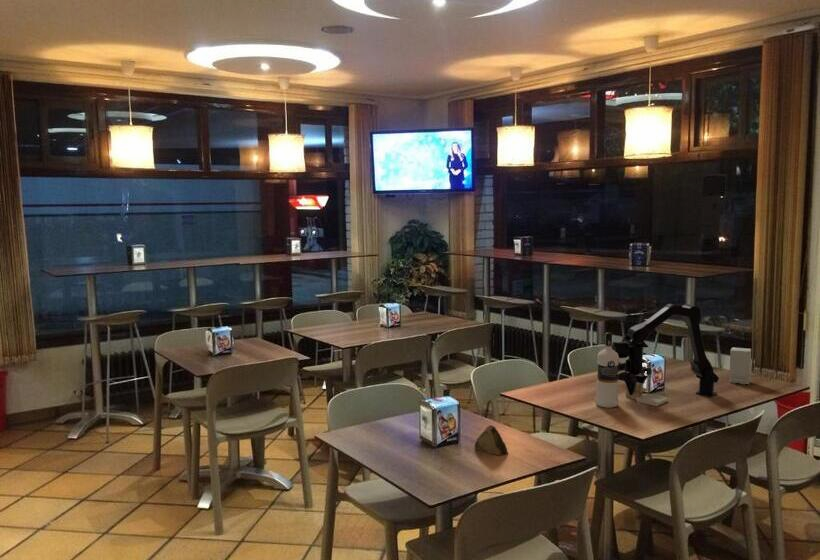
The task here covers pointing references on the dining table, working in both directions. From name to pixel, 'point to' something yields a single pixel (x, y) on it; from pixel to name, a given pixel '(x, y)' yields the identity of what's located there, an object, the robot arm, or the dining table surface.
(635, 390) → the oak block
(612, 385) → the vodka
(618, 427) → the dining table surface
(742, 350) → the skincare box
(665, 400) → the trivet
